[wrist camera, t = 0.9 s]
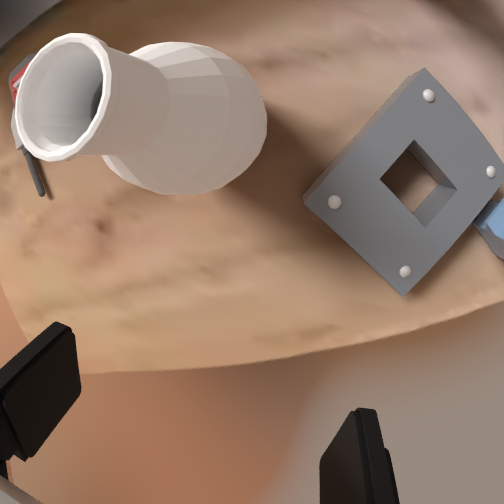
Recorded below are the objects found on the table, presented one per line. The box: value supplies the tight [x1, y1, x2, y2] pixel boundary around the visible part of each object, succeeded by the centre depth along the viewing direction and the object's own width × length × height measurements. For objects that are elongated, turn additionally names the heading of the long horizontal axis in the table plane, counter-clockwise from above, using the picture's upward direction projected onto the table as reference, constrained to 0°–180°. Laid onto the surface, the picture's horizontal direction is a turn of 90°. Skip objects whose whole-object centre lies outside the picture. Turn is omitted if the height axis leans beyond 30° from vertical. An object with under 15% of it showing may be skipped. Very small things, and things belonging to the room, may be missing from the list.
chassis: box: [302, 68, 504, 297], centre depth 29 cm, size 18×14×5 cm
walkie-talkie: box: [8, 54, 45, 197], centre depth 32 cm, size 9×4×20 cm
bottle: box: [15, 33, 267, 195], centre depth 20 cm, size 11×11×25 cm
